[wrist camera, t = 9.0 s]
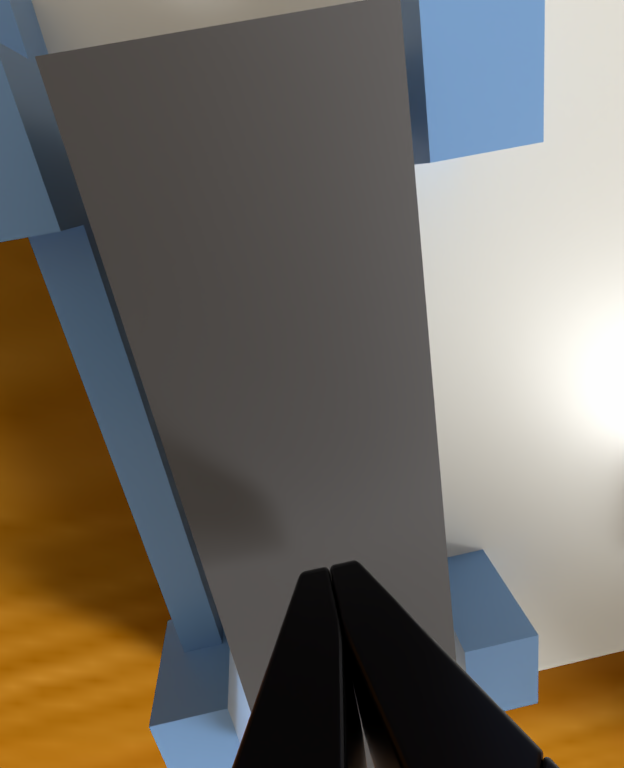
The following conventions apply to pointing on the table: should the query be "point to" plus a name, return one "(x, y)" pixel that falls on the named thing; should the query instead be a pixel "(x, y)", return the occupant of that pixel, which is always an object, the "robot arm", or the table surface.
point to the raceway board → (445, 326)
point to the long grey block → (272, 298)
